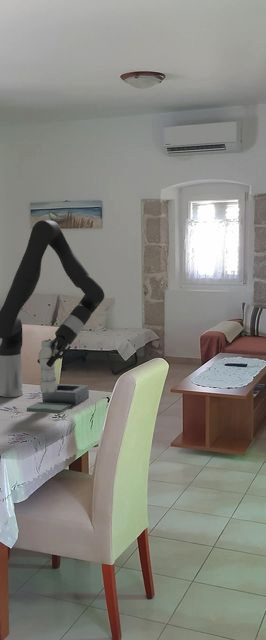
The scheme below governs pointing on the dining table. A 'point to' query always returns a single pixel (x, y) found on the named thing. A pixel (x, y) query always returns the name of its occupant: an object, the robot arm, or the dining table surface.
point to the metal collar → (67, 394)
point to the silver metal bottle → (47, 369)
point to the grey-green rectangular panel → (49, 407)
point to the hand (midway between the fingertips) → (43, 364)
